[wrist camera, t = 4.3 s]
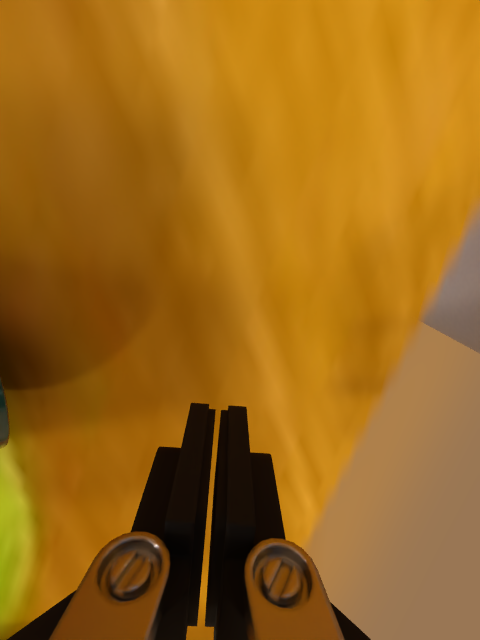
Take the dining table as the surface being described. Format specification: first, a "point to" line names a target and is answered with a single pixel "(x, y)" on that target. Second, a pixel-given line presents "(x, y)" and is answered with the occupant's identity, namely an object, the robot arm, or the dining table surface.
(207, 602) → the robot arm
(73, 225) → the dining table surface
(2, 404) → the cylinder
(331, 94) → the dining table surface
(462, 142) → the dining table surface
